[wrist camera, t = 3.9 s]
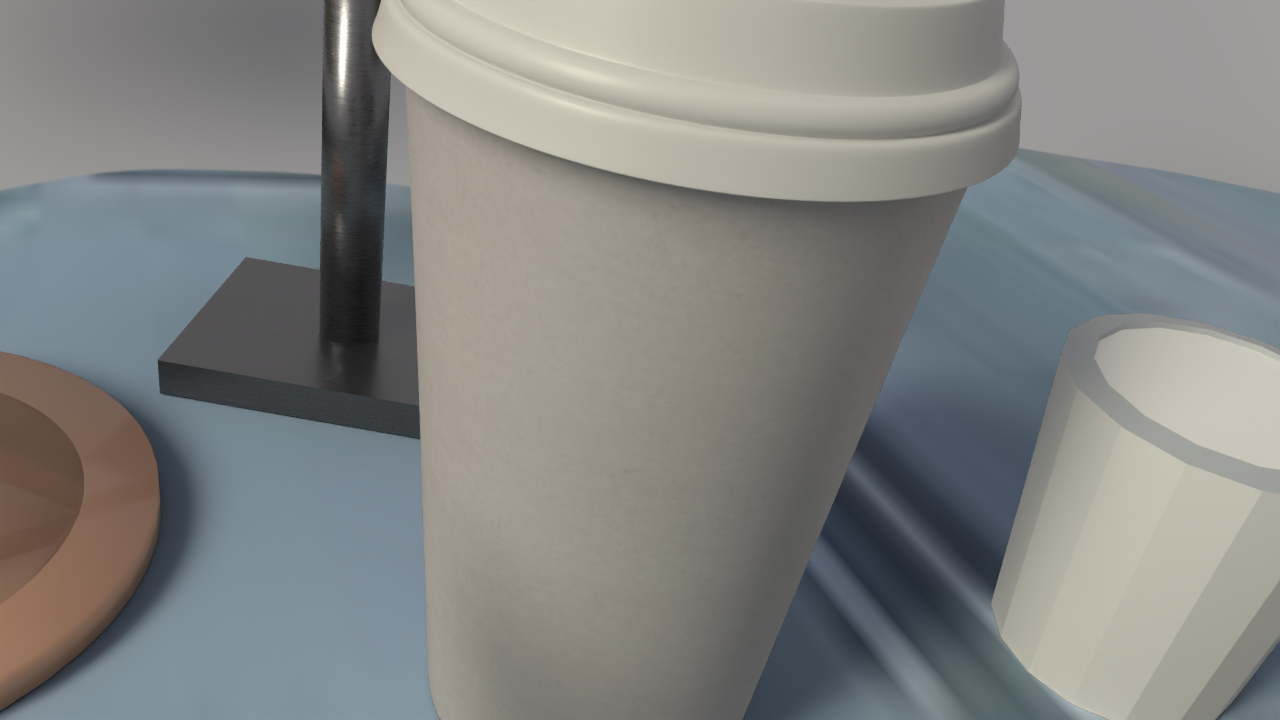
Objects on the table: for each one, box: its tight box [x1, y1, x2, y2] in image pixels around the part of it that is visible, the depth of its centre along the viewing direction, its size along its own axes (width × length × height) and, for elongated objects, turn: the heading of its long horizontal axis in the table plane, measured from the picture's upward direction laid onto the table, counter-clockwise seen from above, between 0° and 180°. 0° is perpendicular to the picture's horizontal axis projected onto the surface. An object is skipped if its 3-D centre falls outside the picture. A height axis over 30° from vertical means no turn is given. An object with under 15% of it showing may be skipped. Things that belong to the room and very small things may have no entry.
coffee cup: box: [372, 0, 1022, 720], centre depth 20 cm, size 10×10×15 cm
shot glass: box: [991, 313, 1280, 720], centre depth 26 cm, size 7×7×7 cm
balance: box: [158, 0, 421, 439], centre depth 29 cm, size 19×6×14 cm, turn 84°
